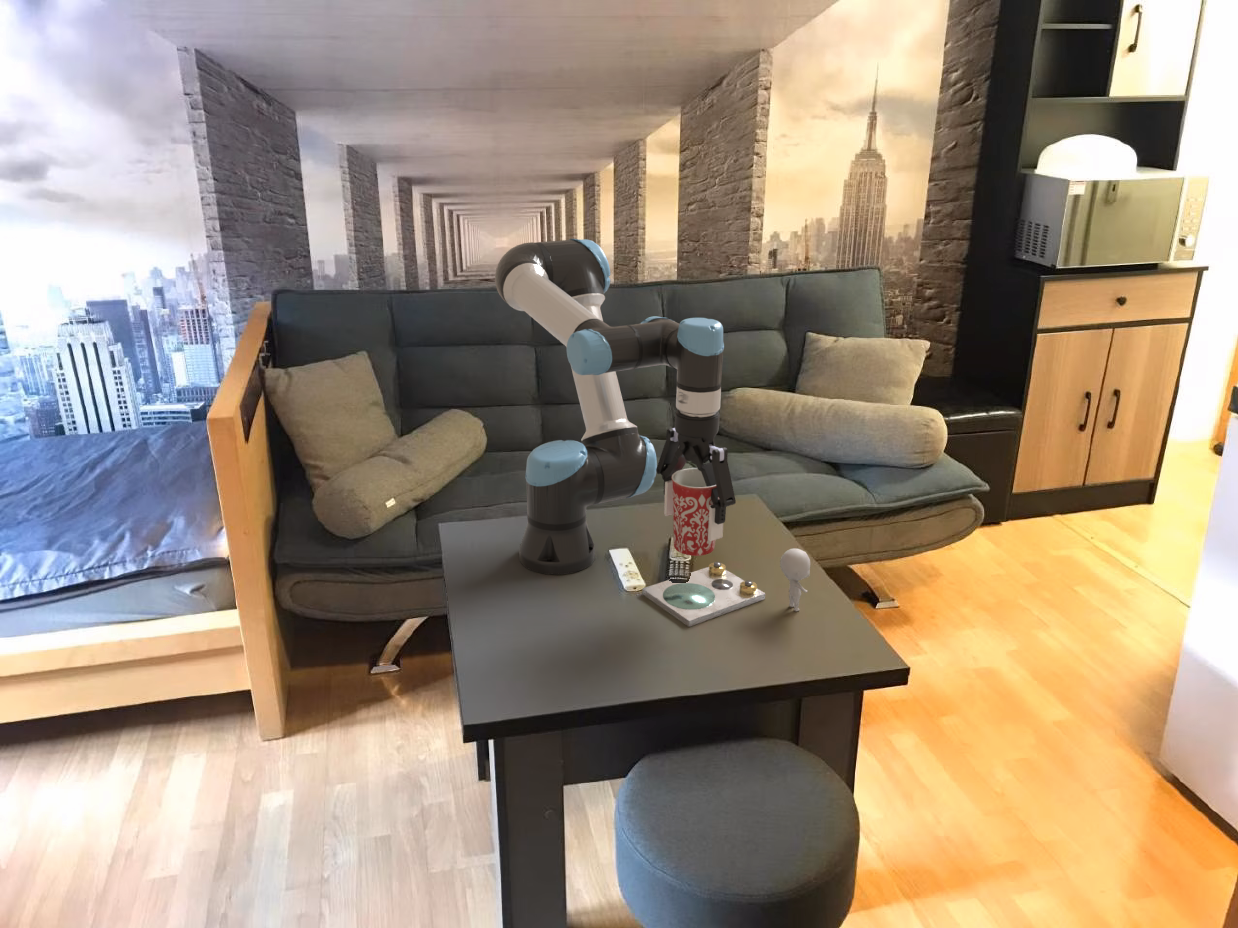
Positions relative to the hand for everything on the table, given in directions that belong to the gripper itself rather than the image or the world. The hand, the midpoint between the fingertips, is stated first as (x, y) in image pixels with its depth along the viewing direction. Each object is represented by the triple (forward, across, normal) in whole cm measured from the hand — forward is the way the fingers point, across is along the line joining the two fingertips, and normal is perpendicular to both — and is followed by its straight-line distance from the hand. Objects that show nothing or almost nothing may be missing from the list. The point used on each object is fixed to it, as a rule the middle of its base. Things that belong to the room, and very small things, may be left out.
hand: (692, 525), depth 173 cm
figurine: (+16, +12, +14) cm, 24 cm away
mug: (+3, 0, 0) cm, 3 cm away
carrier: (+15, 0, +4) cm, 16 cm away
